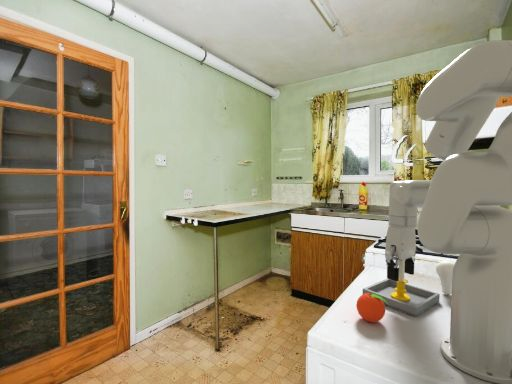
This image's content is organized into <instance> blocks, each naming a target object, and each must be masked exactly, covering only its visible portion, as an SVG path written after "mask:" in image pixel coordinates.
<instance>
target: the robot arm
mask: <svg viewBox="0 0 512 384" xmlns="http://www.w3.org/2000/svg"><path fill="white" fill-rule="evenodd" d="M500 97H501V98H502V97H503V98H508V97H511V98H512V39H510V40H507V39H504V40H503V39H499V40H497V39H496V40H488V41H487V40H486V41H483V42H480V43H477V44H475V45H473V46H471V47H470V48H468V49H467V50H465V51H464V52H463V53H461V54H460V55H459V56H458V57H456V58H455V59H454V60H453V61H452V62H450V64H448V65H446V67H444V68H443V69H442V70H441V71H440V72H439V73H437V74H436V75H435V76H433V78H432V79H431V80H430V81H429V82H428V83H427V84H426V85H425V86H424V88H423V89H422V90H421V92H420V94H419V96H418V99H417V101H416V113H417V114H416V115H417V116H418V118H419V119H421V120H423V121H425V122H435V123H434V125H433V127H432V129H431V131H430V132H429V134H428V137H427V138H426V141H425V142H424V147H425V150H426V151H427V152H428V153H429V154H430V155H431V156H433V157H434V158H435V159H439V160H441V161H442V162H440V164H439V165H437V168H436V169H435V171H434V173H433V176H432V179H411V180H408V179H407V180H394V181H392V182H391V183H390V184H389V192H388V193H389V195H388V197H389V199H388V227H387V232H386V238H385V239H386V240H385V250H384V257H385V262H386V265H385V266H386V268H387V269H386V279H390V280H393V281H399V268H398V266H399V262H400V261H402V260H405V271H404V274H408V275H414V274H415V261H416V254H417V253H416V250H417V244H416V243H417V240H416V239H417V238H416V237H417V236H418V239H419V241H420V243H421V245H422V246H423V247H424V248H426V250H428V251H431V252H433V253H437V254H442V255H443V254H445V255H458V257H457V259H456V260H455V262H454V263H455V265H454V268H453V273H452V293H451V295H450V296H451V297H450V298H451V299H450V302H451V303H450V324H449V325H450V326H449V327H450V329H449V337H447V338H445V339H443V340H441V342H440V352H441V354H442V355H443V357H444V358H445V359H446V360H447V362H449V363H450V364H452V365H453V366H455V367H456V368H458V369H459V370H461V371H463V372H464V373H466V374H469V375H470V376H472V377H475V378H478V379H480V380H483V381H486V382H489V383H494V384H512V210H510V209H508V208H505V207H501V206H512V111H511V112H510V113H509V114H508V115H507V116H506V117H505V118H504V120H503V121H502V122H501V123H500V125H499V126H498V128H497V130H496V133H495V136H494V137H493V138H494V139H493V140H492V143H491V144H490V146H489V147H488V149H487V150H486V151H468V150H470V147H471V146H472V144H473V142H474V141H475V140H476V138H477V136H478V135H479V133H480V132H481V130H482V128H483V127H484V125H485V123H486V122H487V121H488V119H489V117H490V116H491V114H492V113H493V112H494V110H495V108H496V106H497V104H498V102H499V100H500ZM418 208H421V210H420V213H419V217H418ZM416 228H417V236H416Z"/></svg>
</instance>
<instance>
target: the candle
mask: <svg viewBox="0 0 512 384" xmlns="http://www.w3.org/2000/svg"><path fill="white" fill-rule="evenodd" d="M397 268H399V281H396V282H397V288H395V291H396V292H393V293H391V297H392V298H394V299H396V300H399V301H409V300H410V297H409V296H408V295H407V294H404V293H406V292H407V291H406V290H405V284H408V283H409V280H407V279H405V273H404V271H405V260H402V261H400V262H399V265H398V267H397Z"/></svg>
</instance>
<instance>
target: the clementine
mask: <svg viewBox="0 0 512 384" xmlns="http://www.w3.org/2000/svg"><path fill="white" fill-rule="evenodd" d="M381 299H382V300H383V301H385V300H384V299H383V298H382V297H380V296H377V295H375V294H372V293H365V294H363V293H362V294H361V295H360V296H359V297H358V299H357V300H356V306H355V307H356V311H357V313H358V315H359V316H360V317H361V318H362V319H363V320H365V321H367V322H369V323H377V322H380V321H381V320H382V319H383V318H384V317H385V314H386V306H385V305H384V303H383V301H382V300H381ZM385 302H386V301H385ZM386 303H387V302H386ZM387 304H388V303H387ZM388 306H389V305H388ZM388 306H387V307H388ZM388 308H389V309H391V307H388Z"/></svg>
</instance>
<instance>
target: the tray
mask: <svg viewBox="0 0 512 384" xmlns="http://www.w3.org/2000/svg"><path fill="white" fill-rule="evenodd" d="M395 288H397V282H396V281H393V280H390V279H388V278H386V279H384V280H383V279H382V280H381V281H378V282H376V283H373V284H371V285H368V286H365V287H363V288H362V295H363V294H365V293H372V294H375V295H377V296H380V297H382V298H383V299H384V300H385V301H386V302H387V303H388V304H387V303H386V302H385V301H383V300H382V299H381V300H382V301H383V303H384V305H386V306H385V307H388V308H389V307H390V309H393V310H395V311H398V312H401V313H403V314H406V315H409V316H411V317H413V318H417V317H419V316H420V315H422V314H424V313H425V312H427V311H428V310H430V309H431V308H432V307H434V306H436V305H437V304H439V303H440V297H441V296H440V293H439V292H438V293H437V292H435V291H431V290H428V289H424V288H421V287H418V286H415V285H412V284H408V283H405V290H406V291H407V292H406V293H404V294H407V295H408V296H409V297H410V300H409V301H399V300H396V299H394V298H392V297H391V293H393V292H396V291H395ZM388 305H389V306H388Z"/></svg>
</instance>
